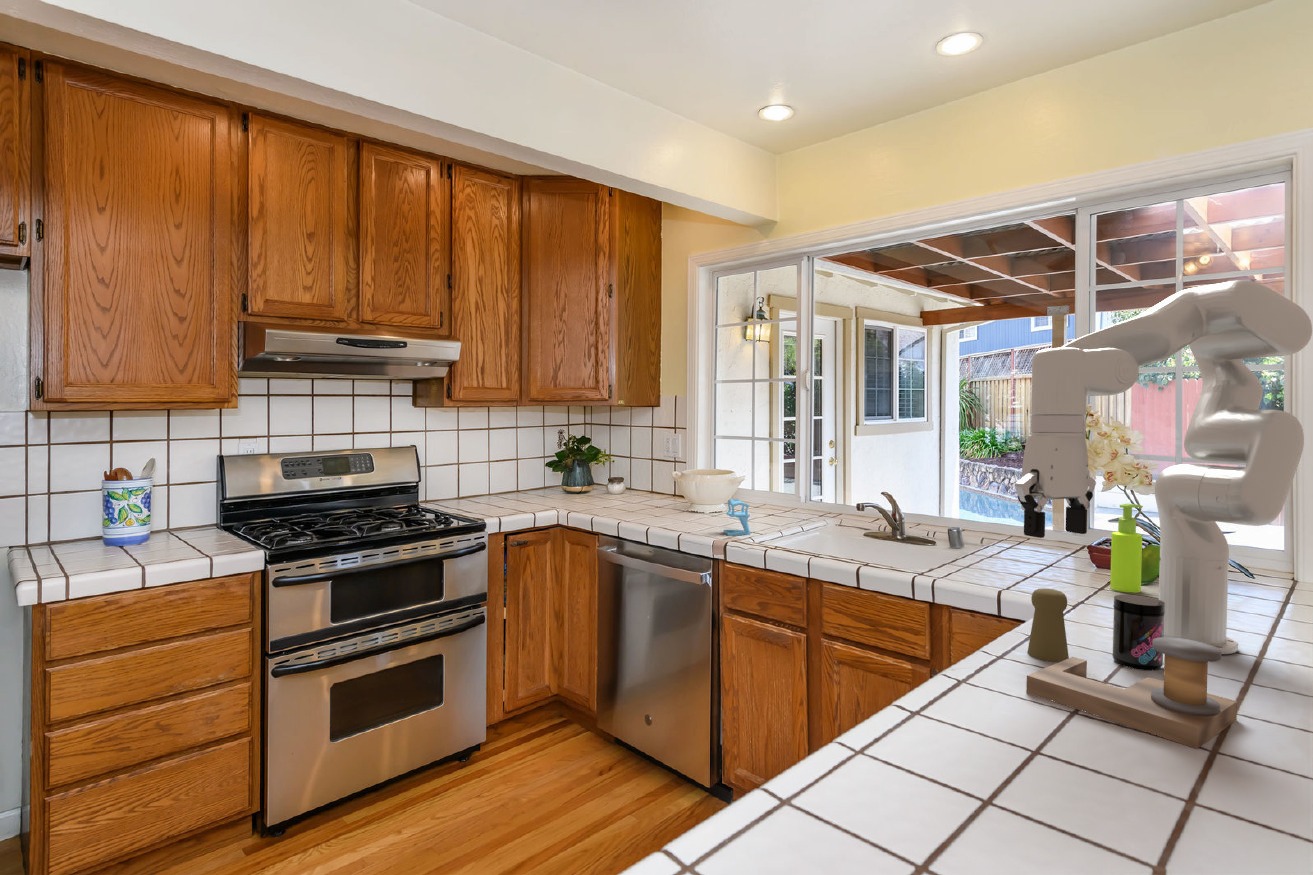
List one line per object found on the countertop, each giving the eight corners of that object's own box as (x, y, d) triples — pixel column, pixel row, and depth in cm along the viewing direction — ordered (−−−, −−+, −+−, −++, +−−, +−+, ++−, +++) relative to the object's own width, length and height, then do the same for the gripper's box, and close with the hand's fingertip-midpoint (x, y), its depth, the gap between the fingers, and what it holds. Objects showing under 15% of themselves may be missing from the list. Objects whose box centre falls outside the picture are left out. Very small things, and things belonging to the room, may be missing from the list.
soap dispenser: (1149, 591, 157) (1152, 505, 157) (1129, 593, 155) (1132, 506, 154) (1124, 585, 163) (1126, 502, 162) (1104, 587, 160) (1106, 503, 160)
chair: (752, 535, 228) (753, 500, 228) (728, 536, 227) (729, 500, 227) (746, 532, 236) (747, 497, 236) (723, 532, 235) (723, 497, 235)
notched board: (1072, 672, 105) (1074, 608, 105) (1236, 720, 89) (1238, 643, 88) (1026, 692, 97) (1027, 622, 97) (1197, 748, 81) (1199, 664, 81)
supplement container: (1120, 669, 107) (1122, 603, 107) (1105, 655, 113) (1107, 593, 113) (1170, 674, 105) (1173, 607, 105) (1152, 659, 112) (1154, 596, 111)
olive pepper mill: (1031, 646, 117) (1032, 583, 117) (1071, 654, 113) (1073, 589, 113) (1023, 656, 113) (1025, 590, 112) (1065, 664, 109) (1067, 596, 108)
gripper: (1071, 426, 114) (1069, 528, 115) (998, 426, 107) (996, 534, 108) (1117, 427, 107) (1114, 535, 108) (1041, 427, 100) (1039, 542, 101)
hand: (1055, 534), depth 108 cm, fingers open, 9 cm apart
